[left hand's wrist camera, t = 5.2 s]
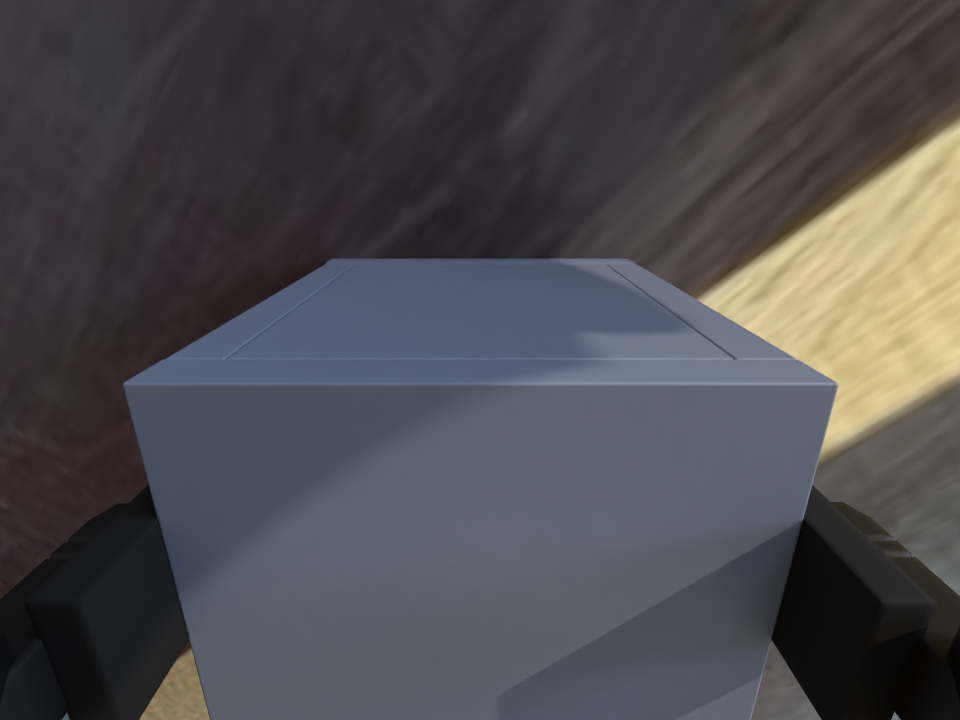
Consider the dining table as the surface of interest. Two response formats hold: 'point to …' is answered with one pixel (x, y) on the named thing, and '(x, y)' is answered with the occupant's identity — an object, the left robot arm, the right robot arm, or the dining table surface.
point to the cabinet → (480, 494)
